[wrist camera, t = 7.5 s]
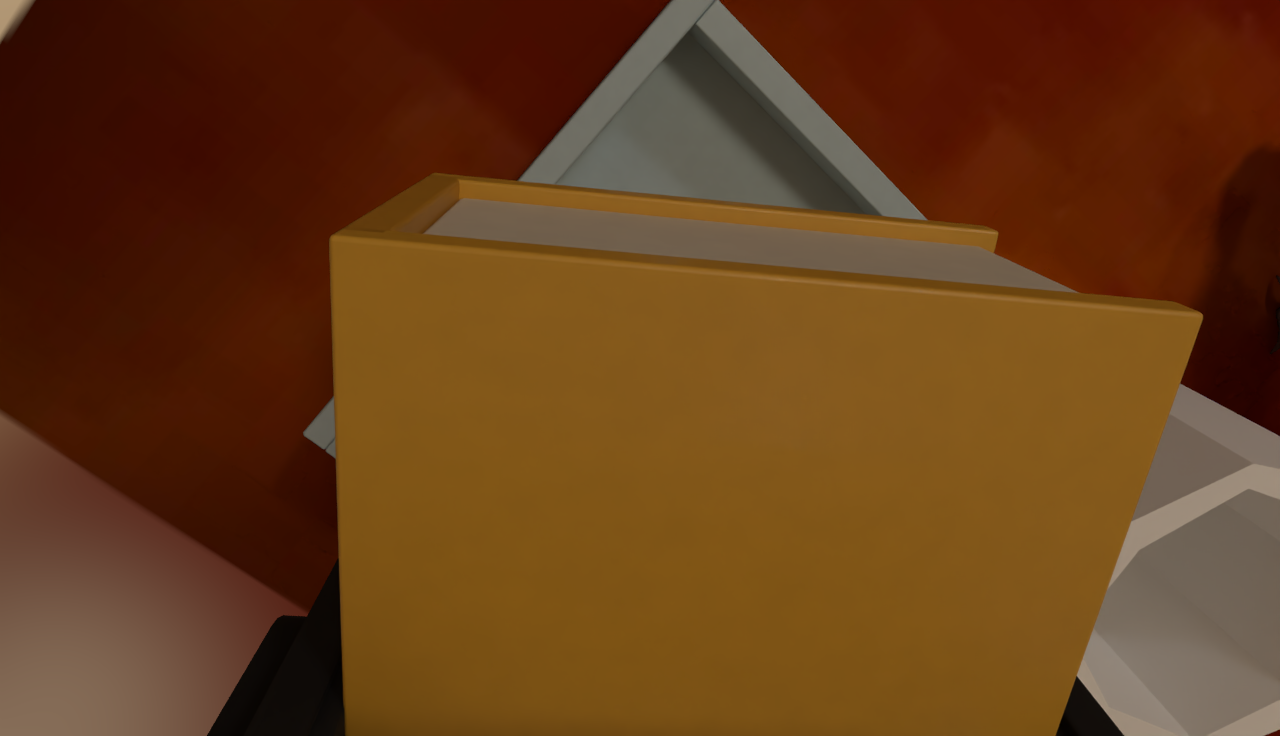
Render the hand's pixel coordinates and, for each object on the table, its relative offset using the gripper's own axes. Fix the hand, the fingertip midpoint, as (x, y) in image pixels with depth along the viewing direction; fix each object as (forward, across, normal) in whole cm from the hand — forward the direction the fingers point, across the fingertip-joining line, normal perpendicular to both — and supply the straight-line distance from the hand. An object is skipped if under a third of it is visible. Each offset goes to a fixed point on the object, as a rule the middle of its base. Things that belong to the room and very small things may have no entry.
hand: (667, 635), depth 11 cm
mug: (+16, -16, +4) cm, 23 cm away
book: (+1, 0, 0) cm, 1 cm away
